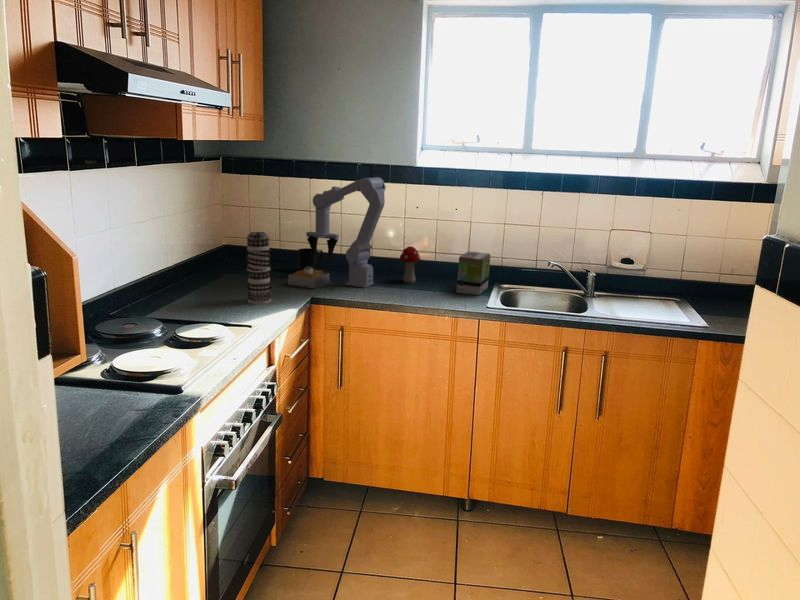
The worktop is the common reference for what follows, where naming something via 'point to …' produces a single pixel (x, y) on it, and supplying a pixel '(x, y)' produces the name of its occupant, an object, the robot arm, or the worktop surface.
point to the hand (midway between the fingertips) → (322, 255)
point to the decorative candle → (258, 268)
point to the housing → (308, 279)
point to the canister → (308, 270)
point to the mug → (308, 258)
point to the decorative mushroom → (409, 263)
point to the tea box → (473, 273)
